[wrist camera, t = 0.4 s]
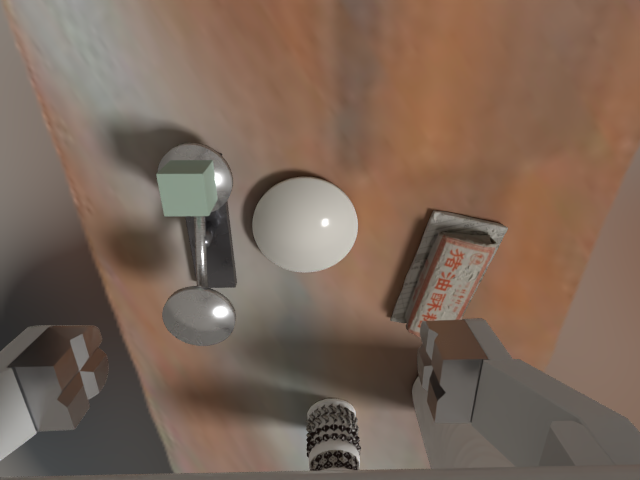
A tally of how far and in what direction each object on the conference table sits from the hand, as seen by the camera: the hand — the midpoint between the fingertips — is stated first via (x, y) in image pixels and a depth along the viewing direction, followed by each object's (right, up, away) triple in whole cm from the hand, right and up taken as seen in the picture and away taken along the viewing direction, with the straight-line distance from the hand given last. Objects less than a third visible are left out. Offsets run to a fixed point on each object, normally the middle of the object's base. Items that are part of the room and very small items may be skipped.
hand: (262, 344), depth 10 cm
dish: (0, +5, +40) cm, 41 cm away
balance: (-12, +5, +40) cm, 42 cm away
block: (-12, +9, +33) cm, 37 cm away
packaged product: (+19, -2, +45) cm, 49 cm away
